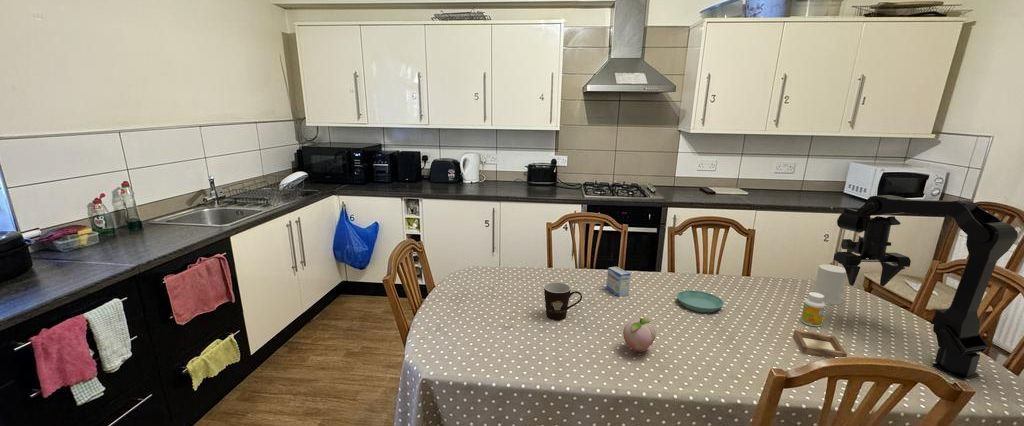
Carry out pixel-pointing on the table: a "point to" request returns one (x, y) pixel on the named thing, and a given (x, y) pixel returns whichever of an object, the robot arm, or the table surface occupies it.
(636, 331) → the decorative fruit
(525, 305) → the table surface
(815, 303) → the supplement bottle
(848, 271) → the robot arm
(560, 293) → the coffee mug
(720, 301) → the saucer
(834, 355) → the tray
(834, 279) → the cup
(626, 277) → the medicine box
